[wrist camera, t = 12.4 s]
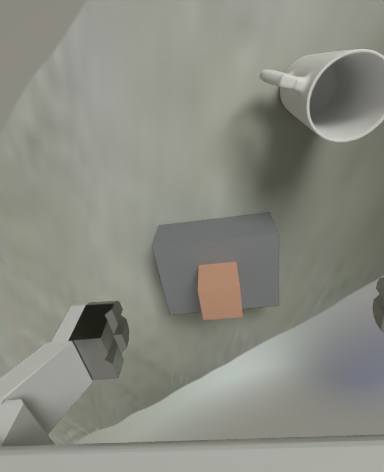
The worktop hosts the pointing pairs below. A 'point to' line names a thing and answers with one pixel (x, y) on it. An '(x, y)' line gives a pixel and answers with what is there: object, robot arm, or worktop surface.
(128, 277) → the worktop surface
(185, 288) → the stand
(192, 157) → the worktop surface
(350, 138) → the mug
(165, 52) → the worktop surface
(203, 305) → the cube
